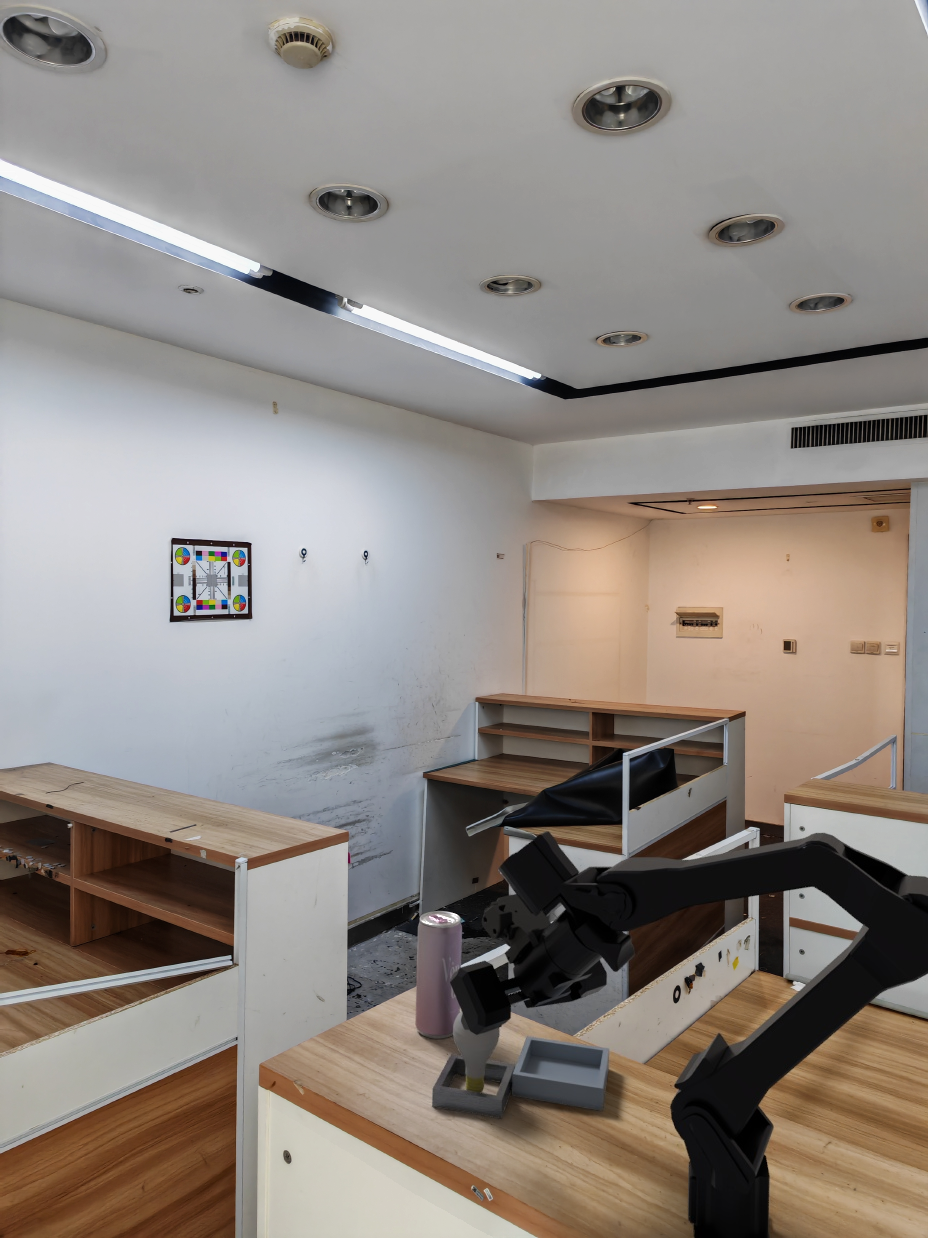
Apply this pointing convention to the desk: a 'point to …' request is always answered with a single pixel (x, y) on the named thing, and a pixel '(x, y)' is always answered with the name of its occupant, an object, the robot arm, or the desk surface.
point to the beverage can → (437, 973)
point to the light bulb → (474, 1052)
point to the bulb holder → (469, 1099)
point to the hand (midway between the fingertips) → (495, 1014)
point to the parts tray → (562, 1073)
